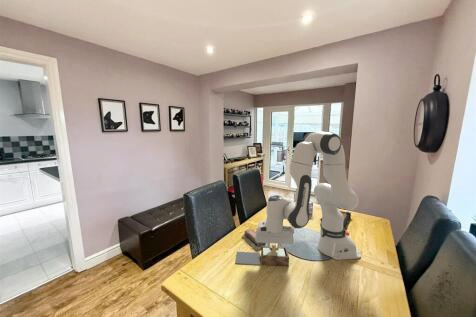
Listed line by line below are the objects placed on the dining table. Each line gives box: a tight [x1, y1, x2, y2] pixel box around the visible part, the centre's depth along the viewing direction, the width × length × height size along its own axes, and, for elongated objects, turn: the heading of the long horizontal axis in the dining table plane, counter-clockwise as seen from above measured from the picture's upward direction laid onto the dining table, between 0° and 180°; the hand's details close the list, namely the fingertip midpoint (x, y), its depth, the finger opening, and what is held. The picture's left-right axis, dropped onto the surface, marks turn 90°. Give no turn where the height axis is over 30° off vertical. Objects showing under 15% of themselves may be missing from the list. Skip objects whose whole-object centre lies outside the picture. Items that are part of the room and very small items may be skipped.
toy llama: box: [293, 188, 314, 216], centre depth 168 cm, size 8×18×20 cm, turn 25°
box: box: [260, 246, 290, 267], centre depth 107 cm, size 14×9×5 cm, turn 85°
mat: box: [235, 251, 261, 266], centre depth 109 cm, size 13×10×1 cm
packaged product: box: [241, 228, 268, 251], centre depth 126 cm, size 18×5×10 cm
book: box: [319, 210, 352, 231], centre depth 153 cm, size 26×18×5 cm
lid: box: [263, 243, 285, 256], centre depth 107 cm, size 12×7×5 cm, turn 85°
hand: (273, 249), depth 107 cm, fingers closed on lid
